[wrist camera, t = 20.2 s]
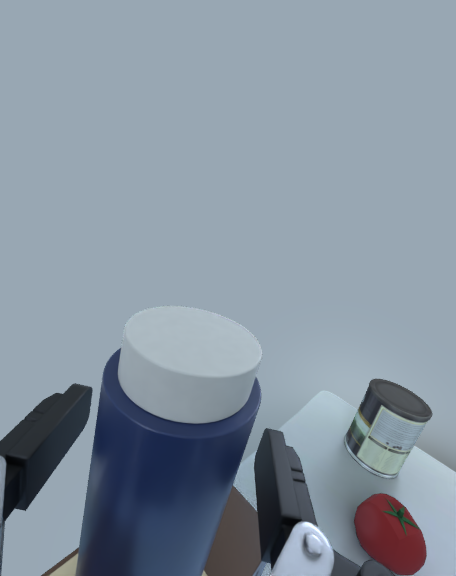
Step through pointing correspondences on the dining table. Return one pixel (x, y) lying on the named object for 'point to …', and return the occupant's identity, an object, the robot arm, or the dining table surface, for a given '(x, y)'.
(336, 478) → the dining table surface
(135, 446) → the water bottle
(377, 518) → the tomato
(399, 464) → the coffee can
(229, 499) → the shoe shelf
